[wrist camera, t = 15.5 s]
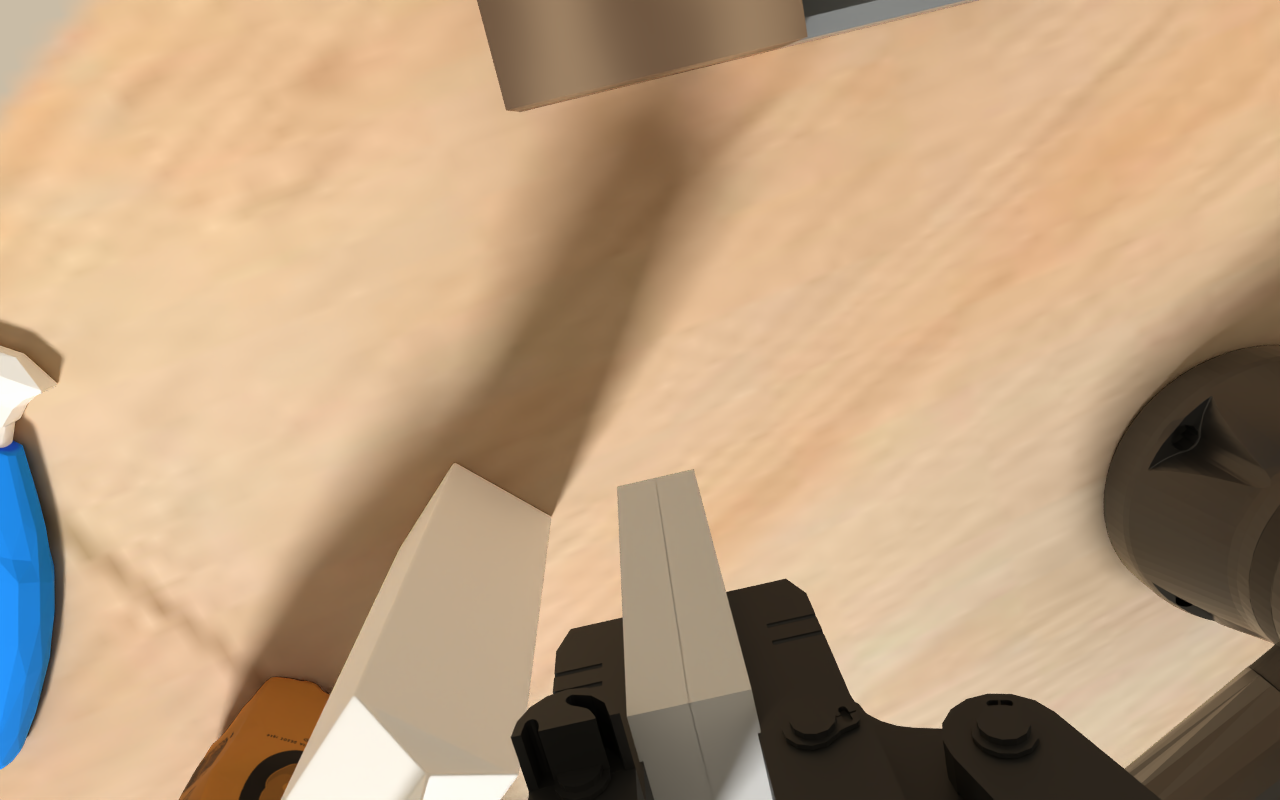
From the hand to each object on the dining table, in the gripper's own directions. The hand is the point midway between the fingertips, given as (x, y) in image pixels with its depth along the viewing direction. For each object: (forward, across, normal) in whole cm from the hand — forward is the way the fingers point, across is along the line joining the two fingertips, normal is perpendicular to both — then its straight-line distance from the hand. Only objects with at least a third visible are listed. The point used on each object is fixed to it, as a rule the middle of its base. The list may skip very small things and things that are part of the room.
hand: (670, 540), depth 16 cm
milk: (+27, +11, +11) cm, 31 cm away
